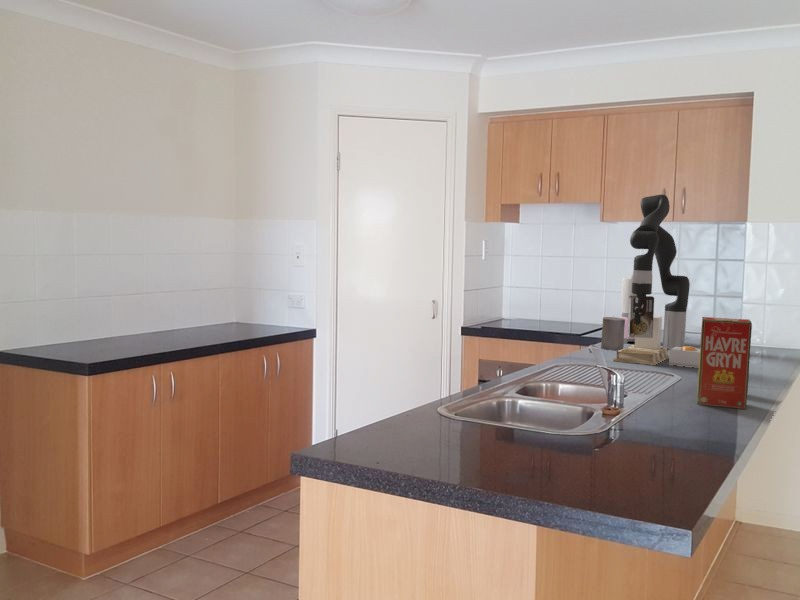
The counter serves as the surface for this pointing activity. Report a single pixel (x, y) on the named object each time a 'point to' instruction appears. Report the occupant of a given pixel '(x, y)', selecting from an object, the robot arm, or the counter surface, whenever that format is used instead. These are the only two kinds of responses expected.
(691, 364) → the console
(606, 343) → the pillar candle
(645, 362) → the pallet
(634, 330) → the coffee box
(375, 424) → the counter surface
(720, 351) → the food packaging
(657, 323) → the carton
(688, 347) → the button
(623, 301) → the blender
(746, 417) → the counter surface
